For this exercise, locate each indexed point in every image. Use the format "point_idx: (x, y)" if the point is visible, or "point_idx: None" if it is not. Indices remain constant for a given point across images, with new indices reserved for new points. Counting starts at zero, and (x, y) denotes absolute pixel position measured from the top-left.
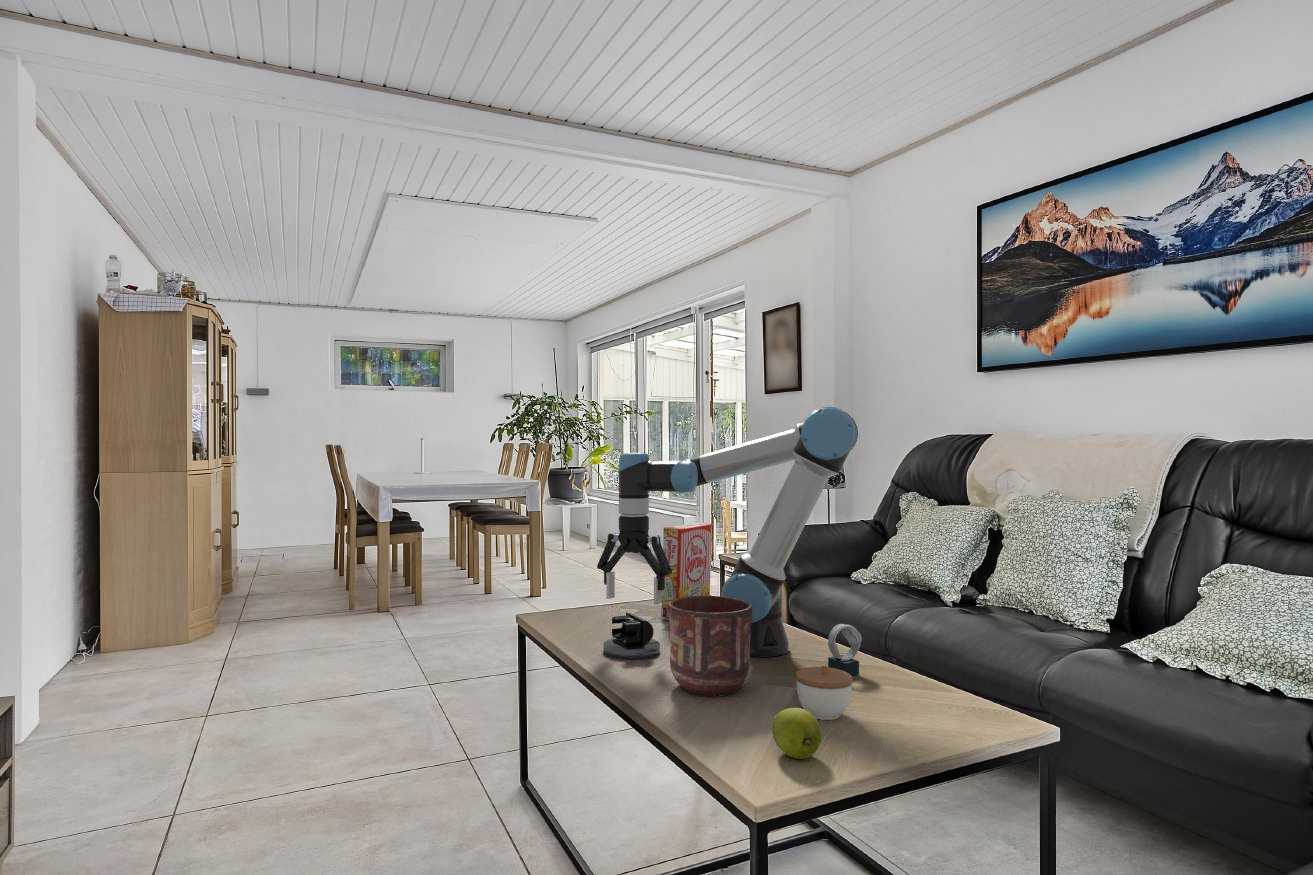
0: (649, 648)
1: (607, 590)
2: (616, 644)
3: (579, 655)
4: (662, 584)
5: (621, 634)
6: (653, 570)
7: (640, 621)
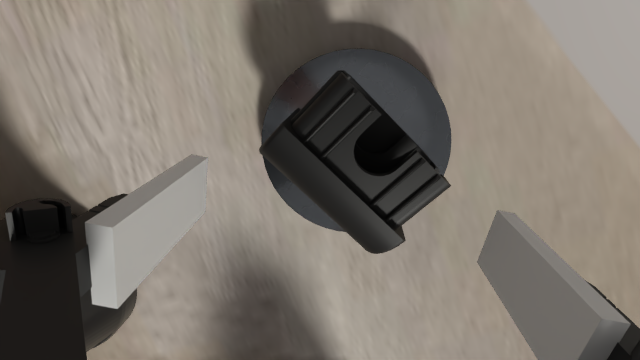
0: (279, 115)
1: (531, 236)
2: (399, 120)
3: (509, 34)
4: (90, 215)
5: (397, 164)
6: (72, 270)
7: (300, 138)
